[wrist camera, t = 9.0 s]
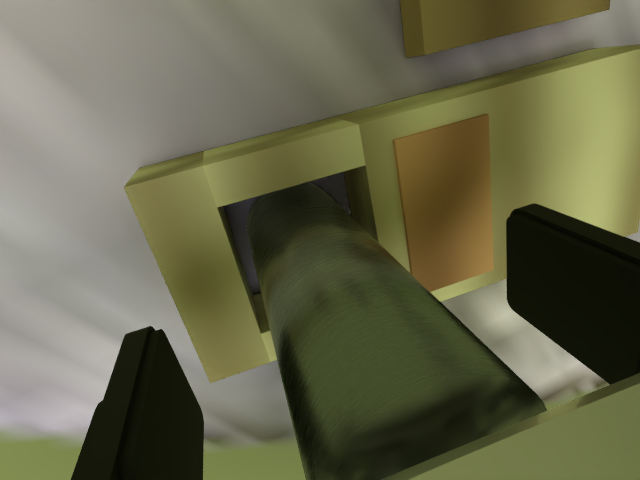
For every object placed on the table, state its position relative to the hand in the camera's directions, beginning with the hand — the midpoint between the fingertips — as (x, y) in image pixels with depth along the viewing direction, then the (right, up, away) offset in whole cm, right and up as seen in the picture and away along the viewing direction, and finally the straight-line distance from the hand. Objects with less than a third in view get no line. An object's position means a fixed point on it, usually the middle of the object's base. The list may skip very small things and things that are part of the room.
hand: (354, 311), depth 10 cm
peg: (-2, +2, +7) cm, 7 cm away
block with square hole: (+3, +4, +7) cm, 9 cm away
